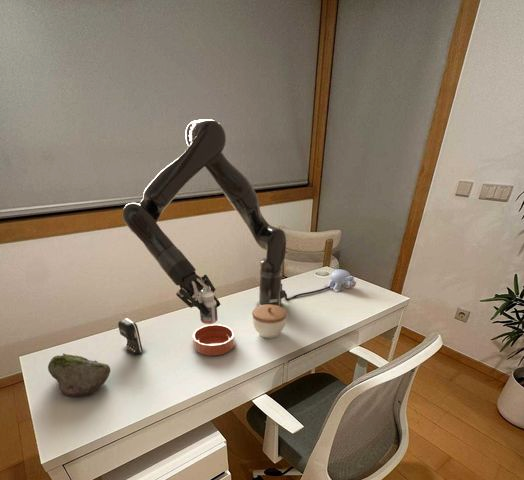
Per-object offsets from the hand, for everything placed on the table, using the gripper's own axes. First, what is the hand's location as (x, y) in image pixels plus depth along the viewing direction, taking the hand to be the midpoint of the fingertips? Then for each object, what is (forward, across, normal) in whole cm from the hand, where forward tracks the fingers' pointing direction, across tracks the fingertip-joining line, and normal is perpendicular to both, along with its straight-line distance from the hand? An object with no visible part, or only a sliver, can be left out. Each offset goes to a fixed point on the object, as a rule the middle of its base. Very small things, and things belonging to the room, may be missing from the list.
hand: (213, 310), depth 98 cm
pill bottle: (+2, 0, +4) cm, 5 cm away
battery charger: (-7, -8, +33) cm, 35 cm away
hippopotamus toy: (+30, +79, -5) cm, 85 cm away
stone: (-8, -28, +34) cm, 44 cm away
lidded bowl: (+20, +23, +6) cm, 31 cm away
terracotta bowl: (+9, +7, +16) cm, 20 cm away
